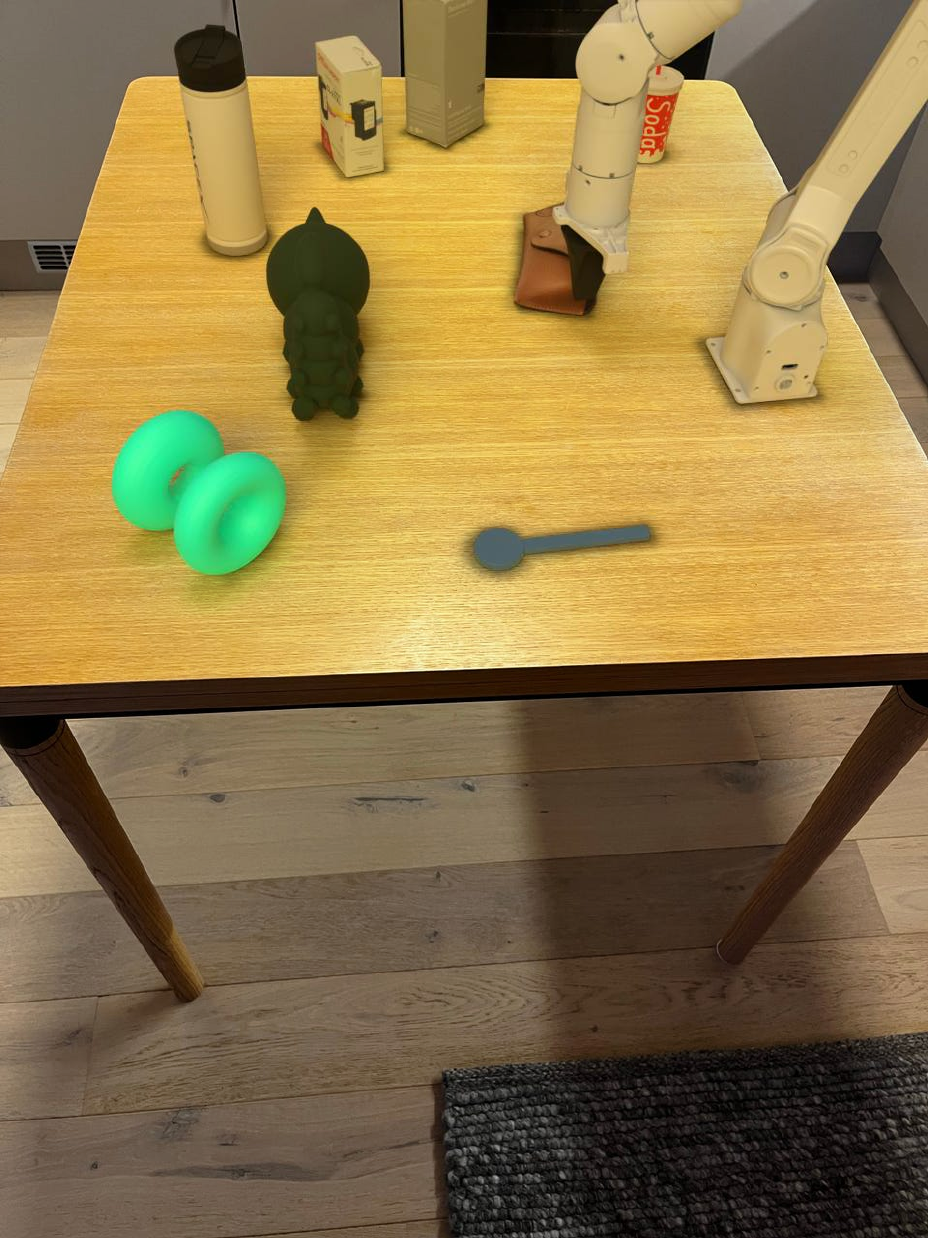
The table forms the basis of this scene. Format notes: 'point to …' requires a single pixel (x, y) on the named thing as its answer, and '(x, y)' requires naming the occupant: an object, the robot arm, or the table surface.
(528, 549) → the spoon
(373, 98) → the ink box
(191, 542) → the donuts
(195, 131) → the travel mug
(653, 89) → the beverage cup
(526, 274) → the sunglasses case
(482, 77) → the cosmetic box
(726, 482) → the table surface
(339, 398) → the toy figurine
